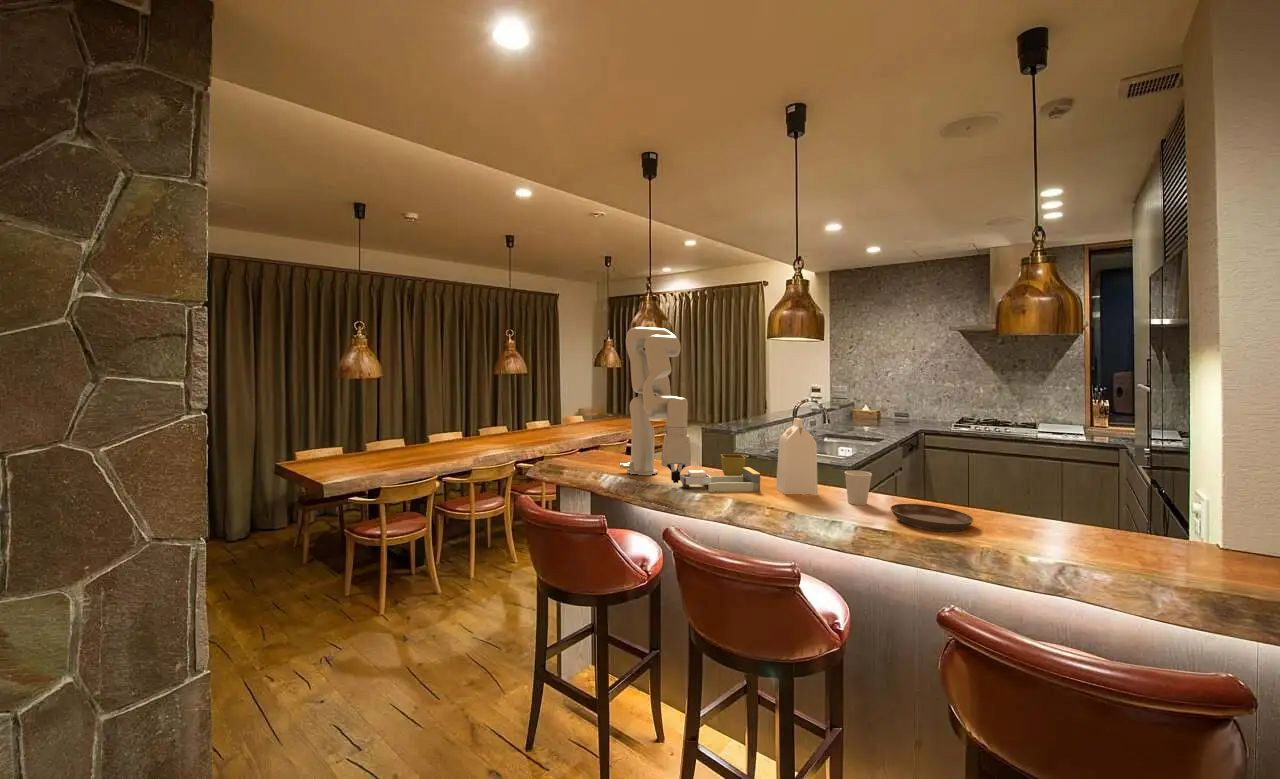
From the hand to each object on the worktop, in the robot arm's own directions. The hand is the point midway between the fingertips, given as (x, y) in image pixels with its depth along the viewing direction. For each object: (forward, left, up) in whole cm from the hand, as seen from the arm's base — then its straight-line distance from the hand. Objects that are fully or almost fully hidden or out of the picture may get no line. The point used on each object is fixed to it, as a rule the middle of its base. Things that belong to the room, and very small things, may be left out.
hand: (675, 482), depth 190 cm
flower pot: (+26, +17, -2) cm, 31 cm away
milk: (+43, -6, -2) cm, 43 cm away
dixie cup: (+56, -24, -2) cm, 61 cm away
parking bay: (+20, 0, -2) cm, 20 cm away
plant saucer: (+66, -47, -3) cm, 81 cm away
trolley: (+8, 0, -2) cm, 8 cm away
